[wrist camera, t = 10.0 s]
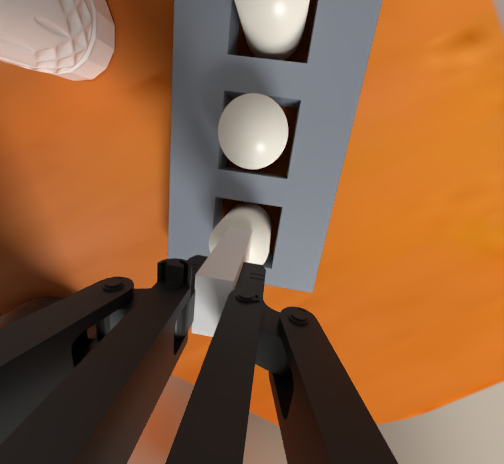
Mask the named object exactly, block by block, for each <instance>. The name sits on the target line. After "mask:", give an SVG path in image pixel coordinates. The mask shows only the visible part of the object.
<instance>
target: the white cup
mask: <svg viewBox="0 0 504 464" xmlns="http://www.w3.org/2000/svg"><path fill="white" fill-rule="evenodd" d="M114 50H115V25H114V22H113V19H112V17H111V14H110V11H109V8H108V5H107V2H106V1H105V0H0V61H1V62H5V63H9V64H13V65H17V66H20V67H24V68H27V69H31V70H35V71H40V72H46V73H50V74H54V75H57V76H60V77H63V78H66V79H70V80H73V81H80V80H92V79H94V78H95V77H96V76H98V75H99V74H100V73H102V72H103V71H104V70H105V69H107V66H108V64H109V62H110V60H111V57H112V55H113V53H114Z"/></svg>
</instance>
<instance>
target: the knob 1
mask: <svg viewBox="0 0 504 464" xmlns="http://www.w3.org/2000/svg"><path fill="white" fill-rule="evenodd" d="M229 227H234V228H241V229H247V230H253V232H252V239H251V247H250V254H249V261H248V263H254V264H259V265H263V264H264V263H265V261H266V259H267V257H268V253H269V246H270V237H271V228H272V224H271V219H270V217H269V215H268V213H267V212H266V211H265V210H264V209H263V208H262V207H260V206H259V205H256V204H253V203H242V204H239V205H236V206H235V207H233V208H232V209H231V210H230V211H229V212H228V213H227V215H226V216H225V217H224V218H223V219H222V220H221V221H220V222H219V223H218V225H217V226H216V227H215V228H214V229H213V231H212V233H211V235H210V238H209V251H210V254H211V252H212V251H213V249H214V248H215V247H216V245H217V244H218V242H219V241H220V240H221V238H222V237H223V235H224V234H225V232H226V231H227V230H228V228H229Z"/></svg>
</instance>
